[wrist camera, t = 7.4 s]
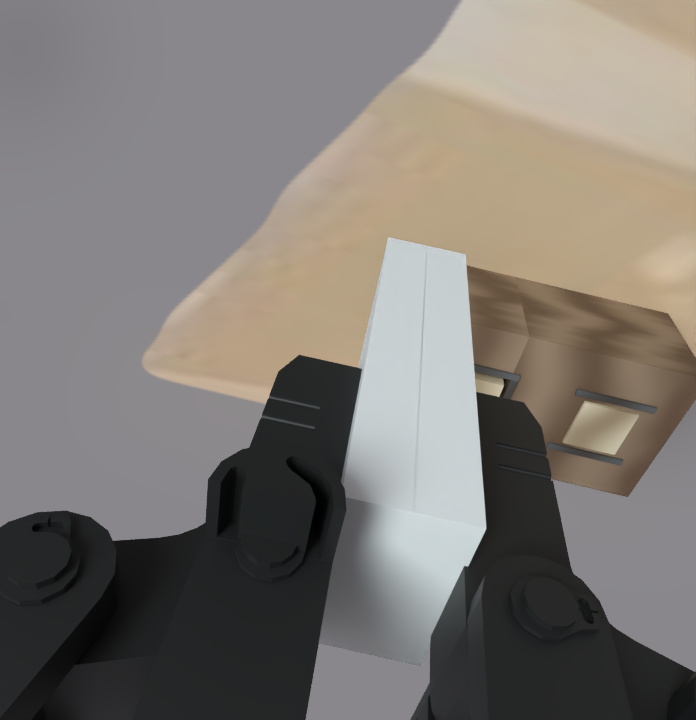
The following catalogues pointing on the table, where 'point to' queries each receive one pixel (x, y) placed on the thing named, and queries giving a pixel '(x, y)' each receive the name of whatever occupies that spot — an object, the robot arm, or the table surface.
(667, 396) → the wooden box
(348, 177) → the table surface
